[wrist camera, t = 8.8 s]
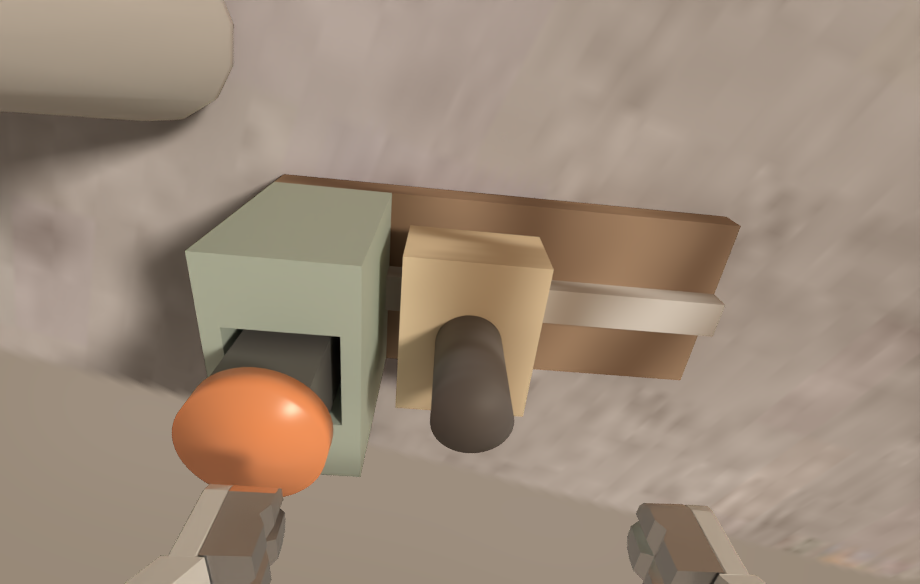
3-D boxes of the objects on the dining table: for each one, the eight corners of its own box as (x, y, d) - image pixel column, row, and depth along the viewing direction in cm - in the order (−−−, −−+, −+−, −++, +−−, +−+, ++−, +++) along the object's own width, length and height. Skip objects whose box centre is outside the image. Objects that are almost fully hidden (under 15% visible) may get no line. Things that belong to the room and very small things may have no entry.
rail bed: (295, 336, 23) (280, 363, 22) (283, 174, 20) (265, 188, 18) (670, 365, 25) (689, 393, 23) (726, 216, 21) (754, 234, 19)
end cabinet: (287, 350, 22) (223, 468, 16) (274, 181, 19) (184, 251, 13) (386, 357, 23) (360, 476, 16) (392, 192, 19) (361, 266, 13)
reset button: (252, 381, 17) (185, 494, 13) (240, 287, 15) (158, 382, 11) (359, 389, 17) (328, 502, 13) (359, 297, 16) (324, 393, 11)
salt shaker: (216, 142, 19) (-142, 293, 8) (69, 45, 18) (-670, 51, 6) (285, 8, 17) (-68, -65, 6) (125, -118, 15) (-855, -592, 4)
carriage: (402, 361, 21) (381, 494, 15) (410, 225, 18) (387, 319, 12) (514, 370, 21) (538, 503, 15) (539, 237, 19) (582, 335, 12)
